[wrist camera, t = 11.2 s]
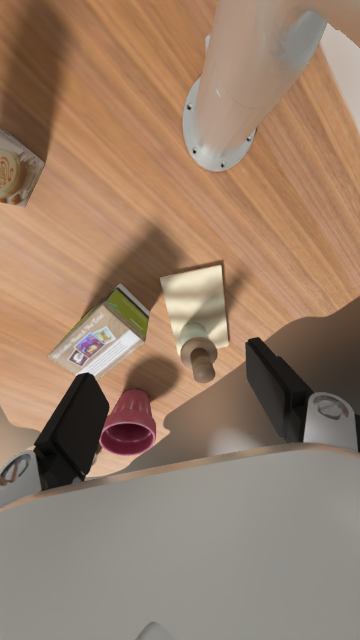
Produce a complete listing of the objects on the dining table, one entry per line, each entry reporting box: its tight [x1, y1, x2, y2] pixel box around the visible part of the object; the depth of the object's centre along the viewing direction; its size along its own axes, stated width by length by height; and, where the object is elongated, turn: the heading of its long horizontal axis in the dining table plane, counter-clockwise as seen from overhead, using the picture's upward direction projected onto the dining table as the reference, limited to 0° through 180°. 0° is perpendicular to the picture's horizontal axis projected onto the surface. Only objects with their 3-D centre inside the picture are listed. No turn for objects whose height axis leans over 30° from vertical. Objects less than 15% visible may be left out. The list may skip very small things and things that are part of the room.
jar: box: [180, 322, 209, 348], centre depth 44 cm, size 7×7×8 cm
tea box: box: [47, 283, 150, 381], centre depth 38 cm, size 15×10×15 cm, turn 130°
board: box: [160, 265, 228, 356], centre depth 45 cm, size 22×14×1 cm, turn 11°
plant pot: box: [99, 389, 156, 456], centre depth 52 cm, size 14×14×13 cm
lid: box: [180, 337, 217, 383], centre depth 37 cm, size 8×8×7 cm
